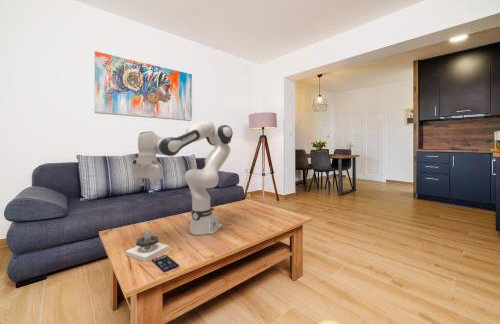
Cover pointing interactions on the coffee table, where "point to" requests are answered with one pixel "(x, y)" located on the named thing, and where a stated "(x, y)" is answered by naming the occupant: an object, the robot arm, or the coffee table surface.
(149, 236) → the pipe stand
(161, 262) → the smartphone
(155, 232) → the coffee table surface
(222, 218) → the coffee table surface
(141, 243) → the ring
